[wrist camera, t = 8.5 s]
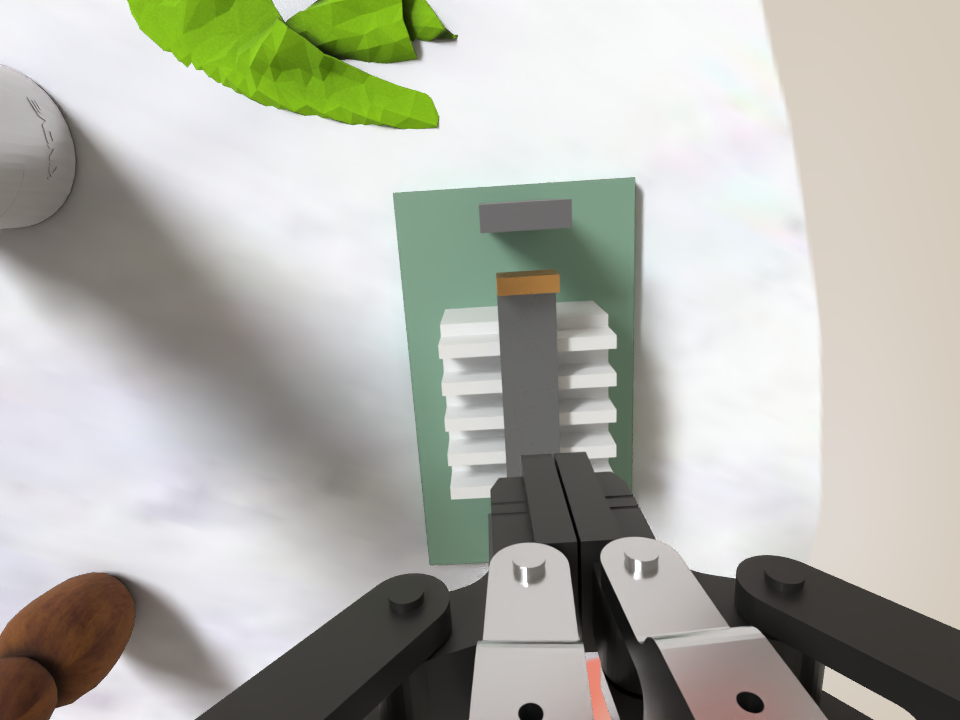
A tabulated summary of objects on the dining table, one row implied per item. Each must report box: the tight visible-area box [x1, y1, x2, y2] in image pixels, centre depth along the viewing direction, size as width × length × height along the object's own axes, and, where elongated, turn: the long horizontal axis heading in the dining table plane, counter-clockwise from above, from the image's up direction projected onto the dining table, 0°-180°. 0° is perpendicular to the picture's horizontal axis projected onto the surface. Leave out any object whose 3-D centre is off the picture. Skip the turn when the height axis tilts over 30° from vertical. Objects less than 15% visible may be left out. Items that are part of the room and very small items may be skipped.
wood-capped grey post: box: [496, 269, 560, 477], centre depth 29 cm, size 19×3×2 cm, turn 4°
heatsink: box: [393, 177, 635, 565], centre depth 33 cm, size 14×25×10 cm, turn 4°
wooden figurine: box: [0, 572, 135, 720], centre depth 35 cm, size 7×6×15 cm
